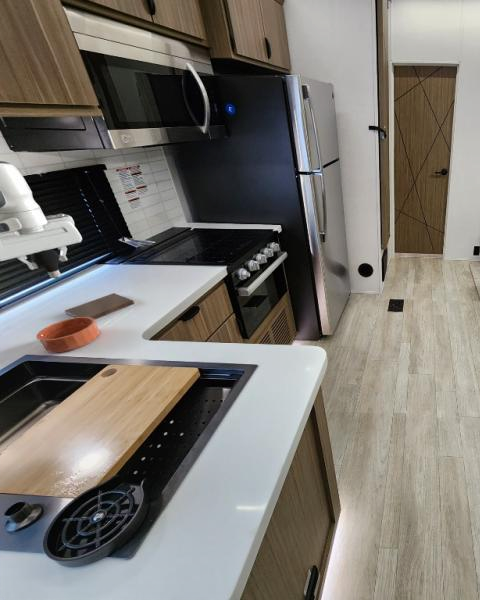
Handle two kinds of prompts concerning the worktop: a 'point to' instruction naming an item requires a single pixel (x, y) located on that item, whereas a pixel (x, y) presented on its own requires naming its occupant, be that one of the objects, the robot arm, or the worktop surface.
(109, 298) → the board
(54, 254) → the black bulb silver base
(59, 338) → the bowl
